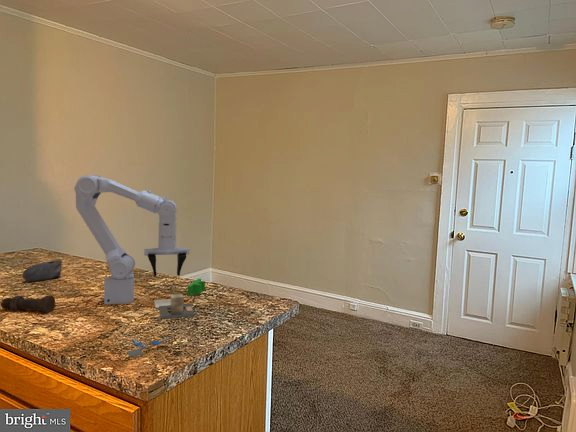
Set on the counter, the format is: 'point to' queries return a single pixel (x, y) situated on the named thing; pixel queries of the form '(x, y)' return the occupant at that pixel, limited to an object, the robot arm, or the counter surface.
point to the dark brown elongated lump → (29, 303)
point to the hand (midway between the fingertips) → (166, 275)
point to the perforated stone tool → (43, 271)
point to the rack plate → (165, 313)
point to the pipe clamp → (196, 287)
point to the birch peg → (176, 303)
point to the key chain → (138, 351)
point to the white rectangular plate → (162, 302)
